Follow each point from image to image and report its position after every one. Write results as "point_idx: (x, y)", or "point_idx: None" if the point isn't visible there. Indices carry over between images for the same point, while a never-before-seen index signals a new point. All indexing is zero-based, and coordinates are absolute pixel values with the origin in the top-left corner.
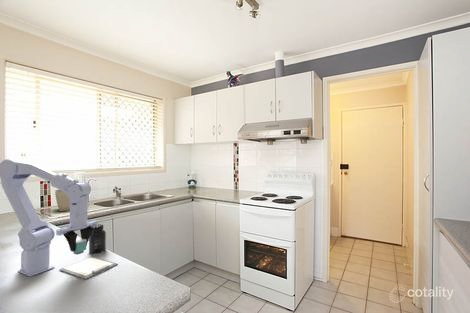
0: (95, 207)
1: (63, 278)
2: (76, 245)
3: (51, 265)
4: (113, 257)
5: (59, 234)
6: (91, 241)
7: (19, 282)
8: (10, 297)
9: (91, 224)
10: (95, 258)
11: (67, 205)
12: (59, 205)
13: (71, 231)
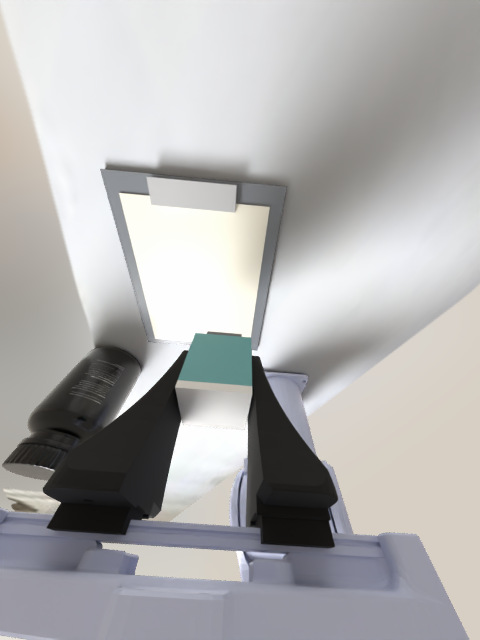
0: (39, 503)
1: (295, 291)
2: (250, 374)
3: None
4: (90, 272)
5: (426, 554)
6: (115, 401)
7: (335, 370)
8: (418, 321)
9: (13, 583)
10: (150, 319)
11: None
12: None
13: (294, 542)
